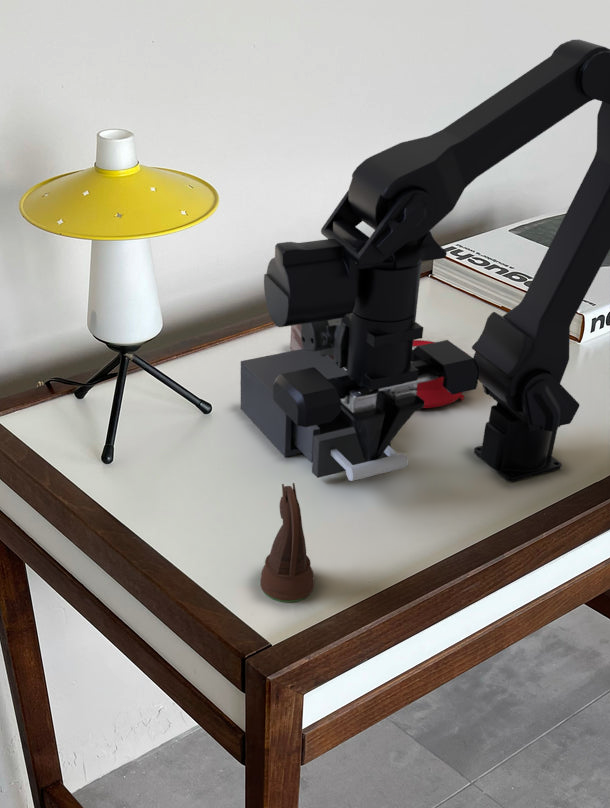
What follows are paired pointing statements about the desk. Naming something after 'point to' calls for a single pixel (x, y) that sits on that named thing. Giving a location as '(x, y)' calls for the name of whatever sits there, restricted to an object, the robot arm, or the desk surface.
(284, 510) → the chess piece
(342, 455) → the drawer
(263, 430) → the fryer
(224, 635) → the desk surface
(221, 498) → the desk surface
